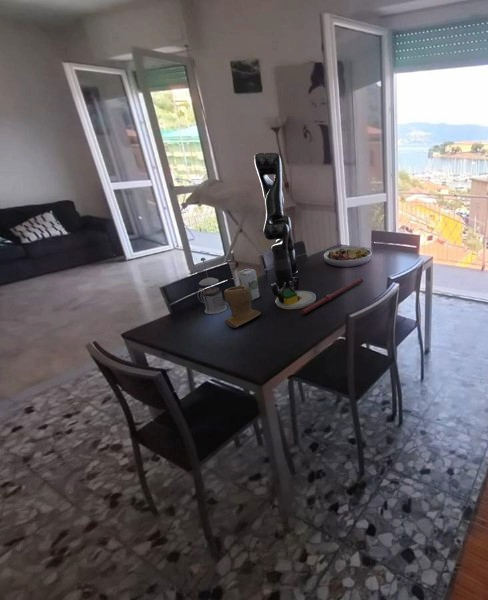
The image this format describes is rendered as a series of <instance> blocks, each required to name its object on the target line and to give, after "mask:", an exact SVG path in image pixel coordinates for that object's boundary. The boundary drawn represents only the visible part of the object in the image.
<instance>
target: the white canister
mask: <svg viewBox="0 0 488 600" xmlns="http://www.w3.org/2000/svg"><path fill="white" fill-rule="evenodd" d="M237 274H238V279H239V286H247V287H248V288H249V290H250V293H251V302H252V301H254V300H257V299H259V298H260V297H261V293H260V287H259V281H258V276H257V271H256V270H255V269H253V268H245V269H242V270H240V271H239V270H238V271H237Z"/></svg>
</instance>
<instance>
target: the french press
mask: <svg viewBox="0 0 488 600" xmlns="http://www.w3.org/2000/svg"><path fill="white" fill-rule="evenodd" d="M200 261H201V262H203V265H204V266H203V267H204V270H205V273H206V278H203V279H202V280H200V281H199V282H198V285H199V286H201V287H200V288H199V289H198V291H197V294H199V292H200V294H202V296H200V297H199V296H197V299H198V301H199V302H200V303H201V304H204V306H205V309H204V314H207V315H215V314H220V313H222V312H224V311H226V310H227V309H228V306H227V304H225V301H224V298H223V293H222V291H221V288H220V287H217V286H214V285H216V284H217V283H219V281H220V280H219V278H215V277H209V275H208V272H207V268H206V265H205V261H206V258H205V257H201V258H200ZM208 286H209V287H208ZM212 286H213V287H212ZM202 287H207V288H202ZM200 290H201V291H200Z"/></svg>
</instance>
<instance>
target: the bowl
mask: <svg viewBox="0 0 488 600" xmlns="http://www.w3.org/2000/svg"><path fill="white" fill-rule="evenodd" d="M372 253H373V252H372V250H370V249H368V248H366V247H360V246H342V247H336V248H332V249H329V250H327V251H325V252H324V253H323V258H324V261H325V262H326V263H327V264H329V265H330V266H333V267H340V268H351V267H357V266H361V265H364V264H366V263H368V262H369V261H370V260H371V259H372V255H373V254H372Z"/></svg>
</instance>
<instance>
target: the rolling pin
mask: <svg viewBox="0 0 488 600" xmlns="http://www.w3.org/2000/svg"><path fill="white" fill-rule="evenodd" d="M363 280H364V279H363V278H362V277H359V278H357V279H356V280H353V281H351V282H350V283H348V284H346V285H345V286H343V287H341V288H339V289H338V290H336V291H333V292H332V293H330V294H326V295H325V296H324V297H323V298H321V299H319V300H317V301H315V302H314V303H313V304H311V305H309V306H307V307H304V308H302V310H300V311H301V314H302V315H303V316H305V315H307V314H308V313H310V312H312V311H314V310H315V309H317V308H318V307H319V308H320V307H321V306H322V305H324V304H326V303H329V302H331V301H333V299H334V298H336V297H338V296H339V295H342V294H343V293H345V292H347V291H349V290H350V289H352V288H354V287H355V286H357V285H358V284H361V283H362V282H363Z"/></svg>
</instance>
